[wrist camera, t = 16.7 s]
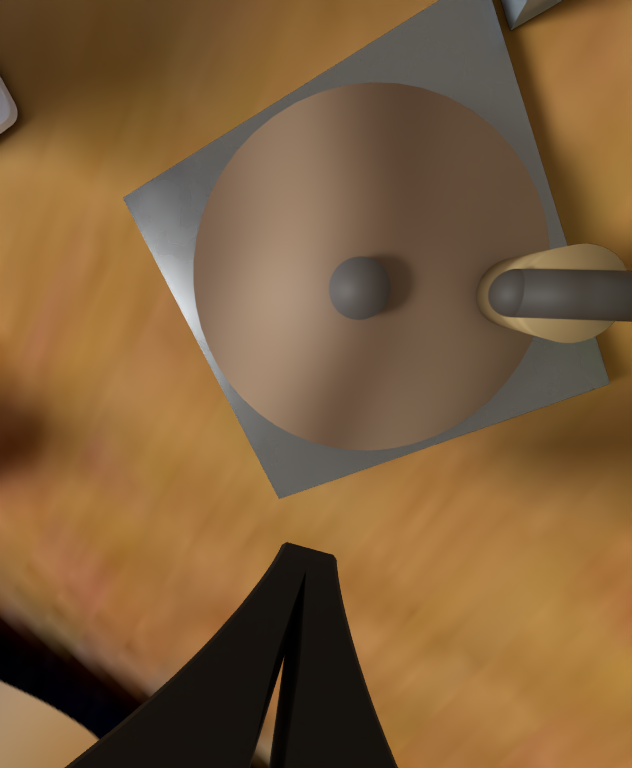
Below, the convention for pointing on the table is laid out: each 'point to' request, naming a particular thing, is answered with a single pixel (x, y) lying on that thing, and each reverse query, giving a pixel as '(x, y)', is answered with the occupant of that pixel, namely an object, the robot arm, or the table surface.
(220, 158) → the crank base
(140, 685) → the table surface
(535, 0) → the tray
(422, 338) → the crank
